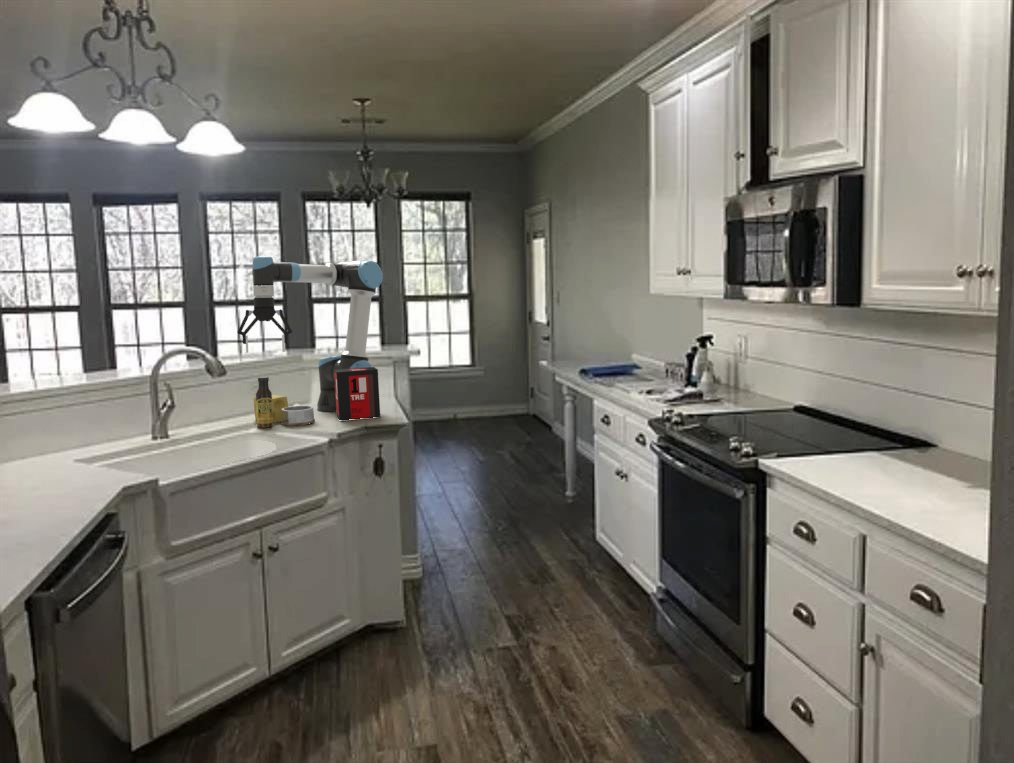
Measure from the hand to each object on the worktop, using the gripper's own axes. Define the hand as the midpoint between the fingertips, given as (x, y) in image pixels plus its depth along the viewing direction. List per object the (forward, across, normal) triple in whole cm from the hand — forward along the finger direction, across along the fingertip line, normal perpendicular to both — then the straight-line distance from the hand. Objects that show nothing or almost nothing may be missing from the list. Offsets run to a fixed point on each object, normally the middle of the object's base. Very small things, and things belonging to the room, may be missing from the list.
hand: (265, 352), depth 332 cm
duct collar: (+29, +12, +6) cm, 32 cm away
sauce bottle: (+30, -1, +4) cm, 30 cm away
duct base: (+29, +12, +6) cm, 32 cm away
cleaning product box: (+28, +36, +6) cm, 47 cm away
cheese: (+30, +2, +18) cm, 35 cm away
